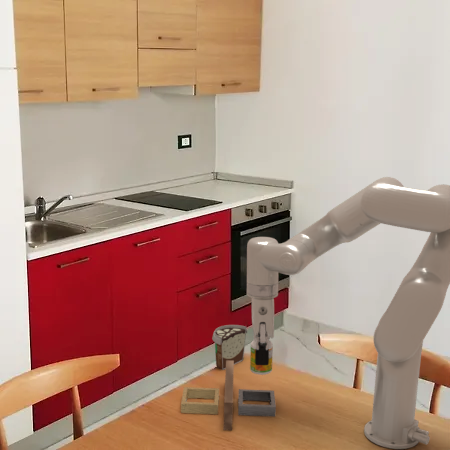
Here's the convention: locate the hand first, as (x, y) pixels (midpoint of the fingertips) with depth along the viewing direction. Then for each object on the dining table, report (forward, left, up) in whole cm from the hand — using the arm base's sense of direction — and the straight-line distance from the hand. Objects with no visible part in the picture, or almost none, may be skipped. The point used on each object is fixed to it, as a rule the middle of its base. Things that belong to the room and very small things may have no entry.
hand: (261, 358), depth 174 cm
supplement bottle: (0, 0, -3) cm, 3 cm away
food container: (+24, -15, -13) cm, 32 cm away
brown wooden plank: (+6, +5, -13) cm, 15 cm away
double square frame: (+6, +5, -13) cm, 15 cm away
